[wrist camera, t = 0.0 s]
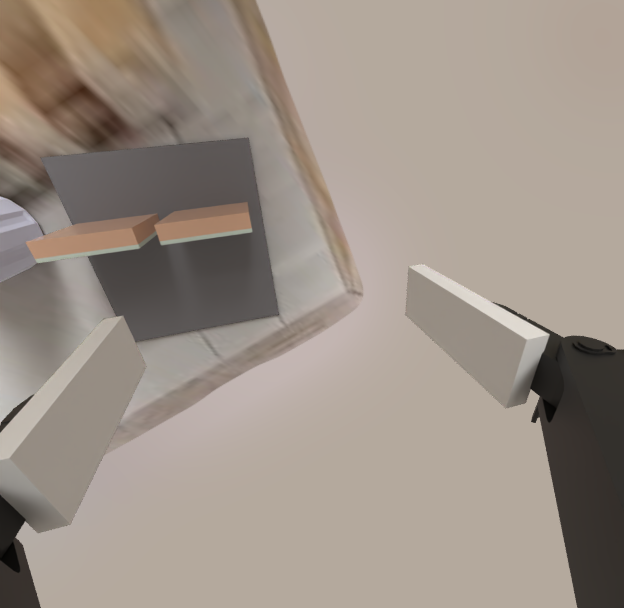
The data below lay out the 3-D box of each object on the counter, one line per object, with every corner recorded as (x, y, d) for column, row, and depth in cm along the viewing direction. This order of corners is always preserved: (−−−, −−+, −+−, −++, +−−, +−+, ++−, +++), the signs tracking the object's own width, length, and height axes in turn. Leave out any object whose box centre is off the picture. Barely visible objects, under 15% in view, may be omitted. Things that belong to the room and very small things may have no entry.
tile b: (76, 223, 33) (25, 242, 25) (157, 213, 35) (131, 227, 27) (85, 241, 34) (38, 264, 26) (163, 231, 36) (140, 249, 28)
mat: (43, 157, 31) (40, 157, 30) (248, 138, 34) (248, 137, 33) (130, 340, 42) (129, 342, 41) (278, 312, 45) (278, 314, 44)
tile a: (174, 211, 35) (154, 224, 27) (247, 201, 36) (248, 212, 28) (179, 228, 36) (161, 246, 28) (250, 218, 37) (252, 233, 29)
